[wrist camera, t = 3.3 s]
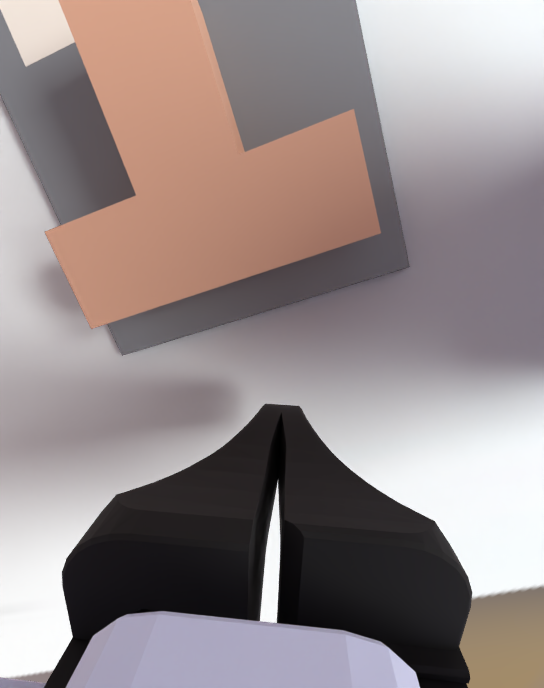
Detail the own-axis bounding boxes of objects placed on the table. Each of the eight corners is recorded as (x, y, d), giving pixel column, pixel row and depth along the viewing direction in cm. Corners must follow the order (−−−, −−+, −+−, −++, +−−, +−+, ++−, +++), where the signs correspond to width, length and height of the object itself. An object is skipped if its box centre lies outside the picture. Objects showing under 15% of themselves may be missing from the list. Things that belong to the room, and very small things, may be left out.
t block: (358, 239, 11) (381, 233, 8) (138, 312, 12) (91, 328, 10) (294, -31, 9) (294, -164, 6) (42, 91, 10) (-54, 28, 8)
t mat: (405, 266, 12) (409, 266, 11) (127, 352, 13) (122, 355, 13) (222, -627, 7) (217, -683, 6) (-175, -301, 9) (-197, -328, 8)
